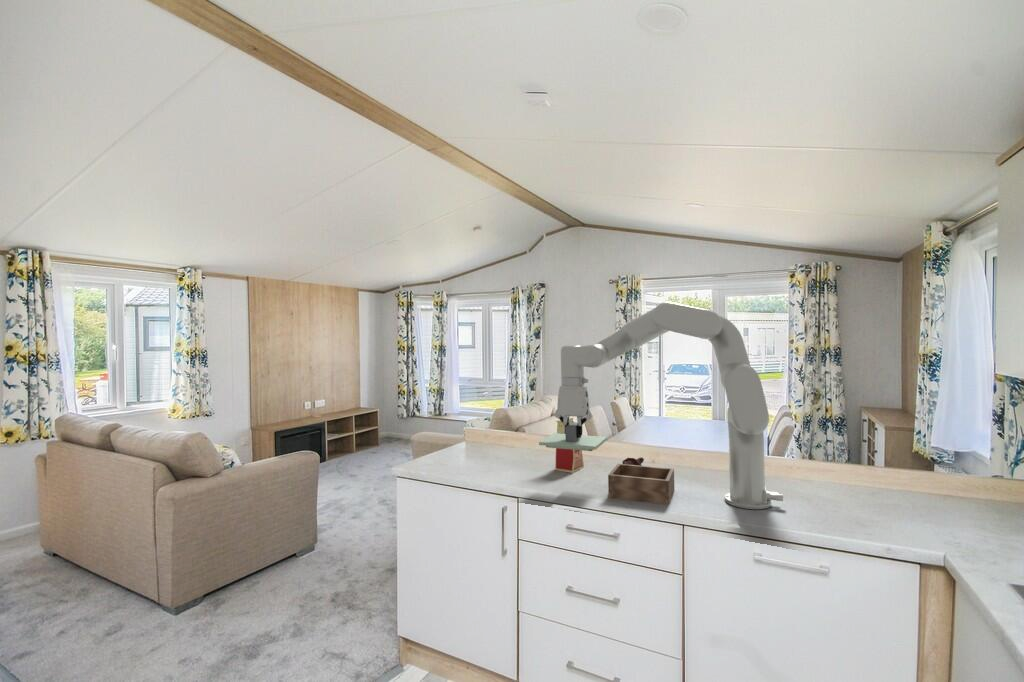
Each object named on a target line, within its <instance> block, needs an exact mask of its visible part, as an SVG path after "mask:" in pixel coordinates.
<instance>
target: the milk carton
mask: <svg viewBox="0 0 1024 682" xmlns="http://www.w3.org/2000/svg"><path fill="white" fill-rule="evenodd" d="M555 422H556V423H557V426H556V433H558V434H565V425H564V424H563V423H562V421H561V420H560V419H559V420H555ZM572 422H574V417H571V418H570V417H569V424H571V423H572ZM584 466H585V465H584V456H583V450H572V449H560V448H555V467H554V469H555V471H558V472H565V473H571V474H573V473H576V472H577V471H579V470H582V469H583V468H585V467H584Z"/></svg>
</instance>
